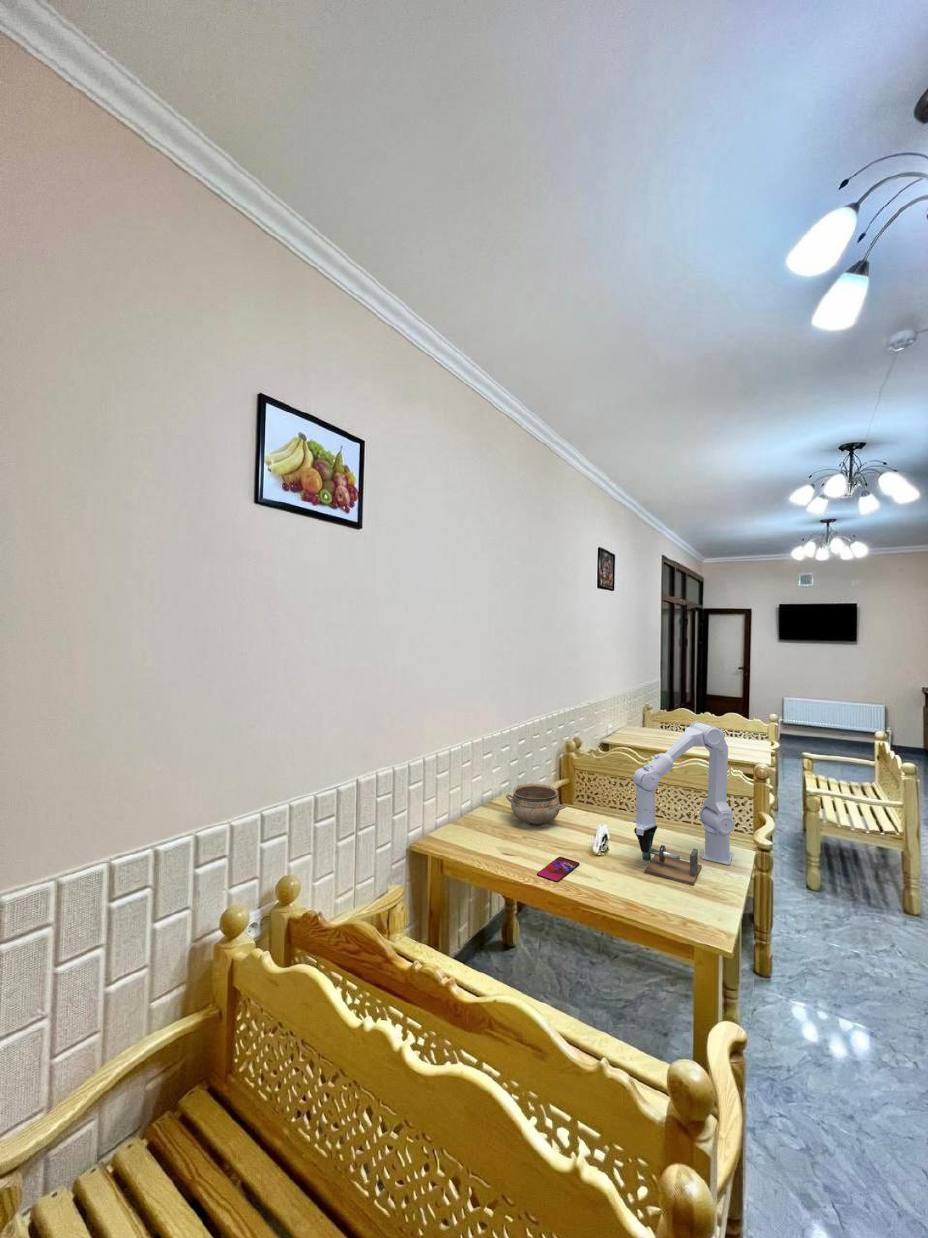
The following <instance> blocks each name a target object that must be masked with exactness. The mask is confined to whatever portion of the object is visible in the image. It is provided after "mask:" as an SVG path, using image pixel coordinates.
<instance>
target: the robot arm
mask: <svg viewBox="0 0 928 1238" xmlns="http://www.w3.org/2000/svg"><path fill="white" fill-rule="evenodd" d="M693 747H697V748H698V747H704V748H705V749H706V750H708V754H709V755H708V756H709V757H708V778H707V779H708V783H707V785H708V786H707V790H708V791H707V798H706V799H705V800H704V801H703V802H702V808H701V810H700V812H699V818H700V821H701V822H702V823H703V827H704V852H703V855H702V856H701V858H702V859H703V860H705V861H710V862H714V863H718V864H724V865H726V866H730V865H731V862H732V859H733V855H734V853H733V852H731V851H730V835H731V833H732V832H733V830H734V828H735V820H734V819H733V811H732V809H731V807H730V806H729V804H728V803H727V793H728V792H727V791H728V770H729V769H728V765H729V763H728V762H729V747H728V744H727V741H726V739H725V732H724V731H722V730H721V729H720V728H718V727H717V726H714V725H713V726H712V725H708V724H706V723H702V722H700V721H694V722H692V723H691V724H690V725H689V726H687V727H686V728H685V730H684V733H683V734H682V735H681V736H680V737H679V738H678V739H677V741H675V742H674V743H673V744H672V746H671V747H669V748H668V750H667V751H666V752H659V753H658V754H657V753H656V754H654V755H653V758H652V759H651V760H650V761H649V762H648V763H647V764H645V765H643V768H642V767H641V768H638V769H636V770H635V772H634V774H633V776H632V777H631V779H632V781H633V783H634V784H635V801H636V802H635V805H636V806H635V808H636V809H635V813H636V816H635V817H634V818H632V822H633V823H635V824H636V825H635V826H636V827H635V828H634V829H633V831H634V834H635V835H636V838H637V840H638V844H639V848H640V850H641V851H640V852H641V853H642V852H645V853H648V852H649V847H650V840H651V848H652V846H653V842H654V837H655V834H656V831H657V829H658V825H657V822H656V789H657V788H658V787H659V783H660V780H661V779H662V778H663V777H664V776H666V774H667V773H668V772H669V771H671V770H672V769H673V768H674V762H675V761H676V760H677V759H679V758H680V757H681V756H682V755H684V754H685V753H686V752H687V751H689V750H690V749H691V748H693Z"/></svg>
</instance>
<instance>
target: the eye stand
mask: <svg viewBox="0 0 928 1238" xmlns="http://www.w3.org/2000/svg"><path fill="white" fill-rule="evenodd" d="M698 854H699V853H698V849H697V848H694V847H693V849H692V850H691V853H690V854H689V861H688V860H687V861H686V860H681V859H680V860H675V859H671V858H667V857H665V861H664V863H663V862H660V859H659V855H655V854H653V857H652V858H651V860H650V861H649V862H648V863H647V865H646V867H645V869H644V874H647V875H650V876H652V877H653V876H654V877H658V878H661V879H664V880H669V881H673V882H677V883H680V884H683V885H688V886H692V887H694V886H695V883H696V882H697V879H698V878H699V874H700V872H701V871H702V864H699V863H698V862H699V858H698V857H699V855H698Z"/></svg>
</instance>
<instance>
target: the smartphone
mask: <svg viewBox="0 0 928 1238" xmlns="http://www.w3.org/2000/svg"><path fill="white" fill-rule="evenodd" d="M578 867H580V862H578V861H576V860H573V859H569V858H567V857H563V856H558V857H557V858H555V859H553V860H552V861H551V862H550V863H548V864H547V865H546V866H545V867H543V868H542V869H541V870H539V871H538V872H537V873H536V876H538V877H539V878H543V879H545V880H548V881H551V882H554V883H560V882H561V881H562V880H563V879H564V878H566V877H567V876H568V875H569V874H571V873H572V872H573V871H574V870H576V869H577V868H578Z"/></svg>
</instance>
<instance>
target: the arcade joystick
mask: <svg viewBox="0 0 928 1238" xmlns="http://www.w3.org/2000/svg"><path fill="white" fill-rule="evenodd" d="M651 855H659V859H660V862H663V863H664V861H665V857H667V858H671V859H675V860H681V855H680V854H678V853H673V852H669V851H667V848H666V845H664V844H661V845H660V847H659V849H656V848H652V847H651V840H650V847H649V852H648V853H645V852H642V851H641V859H642V860H643V861H645V862H650V861H651V860H652V858H651V857H652V856H651Z"/></svg>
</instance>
